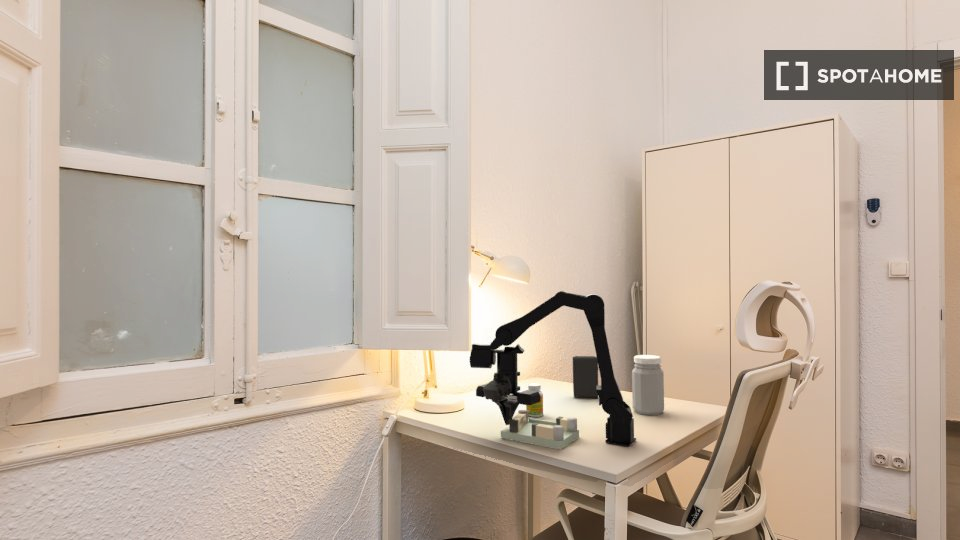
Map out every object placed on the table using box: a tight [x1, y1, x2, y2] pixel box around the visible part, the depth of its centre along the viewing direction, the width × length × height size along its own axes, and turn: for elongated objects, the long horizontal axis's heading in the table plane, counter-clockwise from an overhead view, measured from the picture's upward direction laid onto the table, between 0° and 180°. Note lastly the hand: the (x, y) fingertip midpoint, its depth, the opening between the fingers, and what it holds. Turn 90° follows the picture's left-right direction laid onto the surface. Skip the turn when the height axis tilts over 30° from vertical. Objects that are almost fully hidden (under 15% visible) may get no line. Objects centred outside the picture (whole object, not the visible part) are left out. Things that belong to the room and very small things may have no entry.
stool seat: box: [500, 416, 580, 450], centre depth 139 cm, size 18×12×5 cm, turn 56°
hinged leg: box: [508, 409, 529, 433], centre depth 142 cm, size 12×3×3 cm, turn 160°
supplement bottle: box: [525, 383, 544, 418], centre depth 162 cm, size 5×5×10 cm
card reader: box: [572, 355, 599, 399], centre depth 185 cm, size 9×4×15 cm, turn 82°
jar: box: [631, 354, 665, 416], centre depth 164 cm, size 10×10×18 cm
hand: (507, 424), depth 141 cm, fingers closed
